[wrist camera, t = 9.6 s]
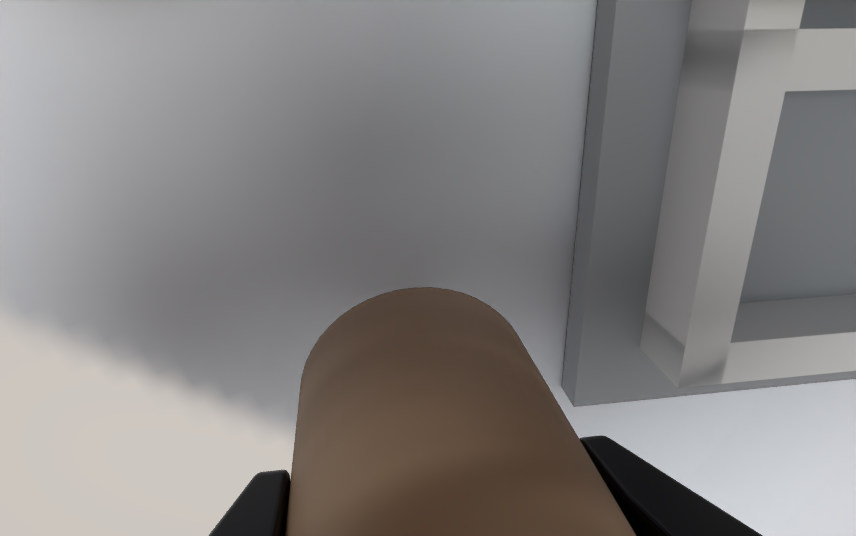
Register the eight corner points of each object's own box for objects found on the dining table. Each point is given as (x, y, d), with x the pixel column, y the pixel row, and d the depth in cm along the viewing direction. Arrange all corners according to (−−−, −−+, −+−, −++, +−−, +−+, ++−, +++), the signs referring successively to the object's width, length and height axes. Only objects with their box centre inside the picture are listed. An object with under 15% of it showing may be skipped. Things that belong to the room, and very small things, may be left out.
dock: (1147, -335, 13) (1372, -435, 10) (903, 355, 19) (997, 408, 17) (633, -379, 11) (730, -513, 8) (561, 387, 18) (602, 452, 15)
